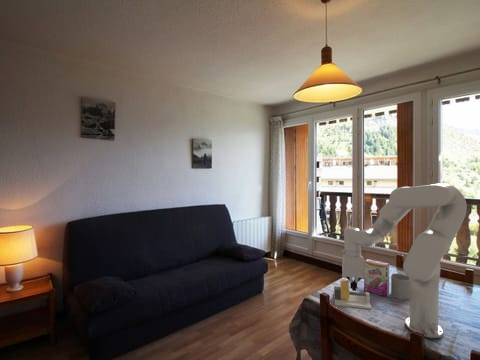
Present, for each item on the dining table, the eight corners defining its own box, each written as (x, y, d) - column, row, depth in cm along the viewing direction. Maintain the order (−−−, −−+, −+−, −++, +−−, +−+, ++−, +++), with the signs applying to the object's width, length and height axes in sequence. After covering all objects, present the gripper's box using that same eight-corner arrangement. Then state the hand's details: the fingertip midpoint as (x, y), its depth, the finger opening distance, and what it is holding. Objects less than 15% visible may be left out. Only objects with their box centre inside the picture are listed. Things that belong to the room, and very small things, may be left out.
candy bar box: (363, 290, 136) (363, 260, 136) (366, 287, 140) (366, 258, 140) (387, 297, 129) (387, 265, 128) (389, 294, 132) (389, 263, 132)
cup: (413, 300, 125) (413, 280, 125) (395, 299, 127) (395, 279, 127) (405, 292, 134) (405, 274, 133) (388, 291, 135) (388, 273, 135)
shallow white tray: (371, 309, 118) (371, 297, 118) (335, 304, 123) (335, 293, 123) (366, 297, 129) (366, 286, 129) (333, 294, 133) (333, 283, 133)
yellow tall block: (349, 299, 124) (349, 282, 124) (340, 298, 125) (340, 281, 125) (348, 295, 128) (348, 279, 128) (339, 294, 129) (339, 278, 129)
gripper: (337, 254, 124) (338, 291, 124) (371, 256, 119) (372, 294, 119) (336, 249, 131) (337, 285, 131) (368, 251, 126) (369, 288, 127)
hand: (353, 289), depth 125 cm, fingers closed
